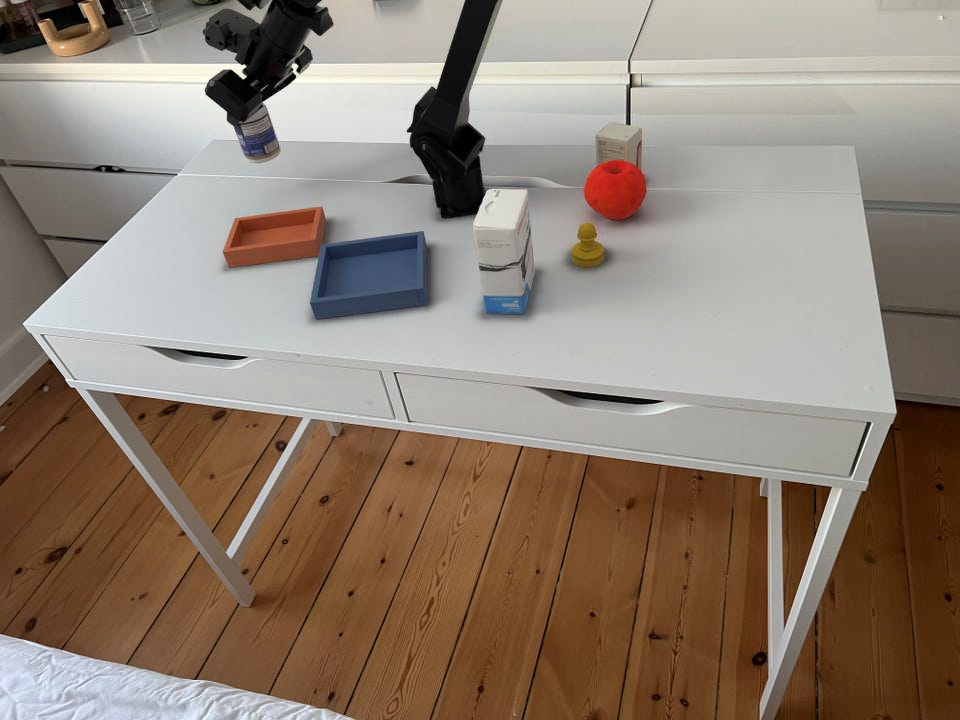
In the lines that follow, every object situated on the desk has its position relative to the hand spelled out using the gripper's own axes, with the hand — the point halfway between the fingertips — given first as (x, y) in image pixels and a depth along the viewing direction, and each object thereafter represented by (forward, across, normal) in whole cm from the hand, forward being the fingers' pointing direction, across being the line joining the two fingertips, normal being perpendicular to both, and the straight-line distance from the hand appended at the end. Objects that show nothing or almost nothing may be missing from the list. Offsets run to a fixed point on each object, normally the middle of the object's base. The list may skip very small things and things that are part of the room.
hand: (241, 113), depth 111 cm
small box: (-28, -8, +47) cm, 55 cm away
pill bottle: (+4, 0, +6) cm, 7 cm away
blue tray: (-10, +19, +28) cm, 36 cm away
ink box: (-22, +18, +42) cm, 51 cm away
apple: (-28, 0, +48) cm, 56 cm away
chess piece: (-27, +10, +47) cm, 55 cm away
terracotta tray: (+2, +13, +16) cm, 21 cm away
